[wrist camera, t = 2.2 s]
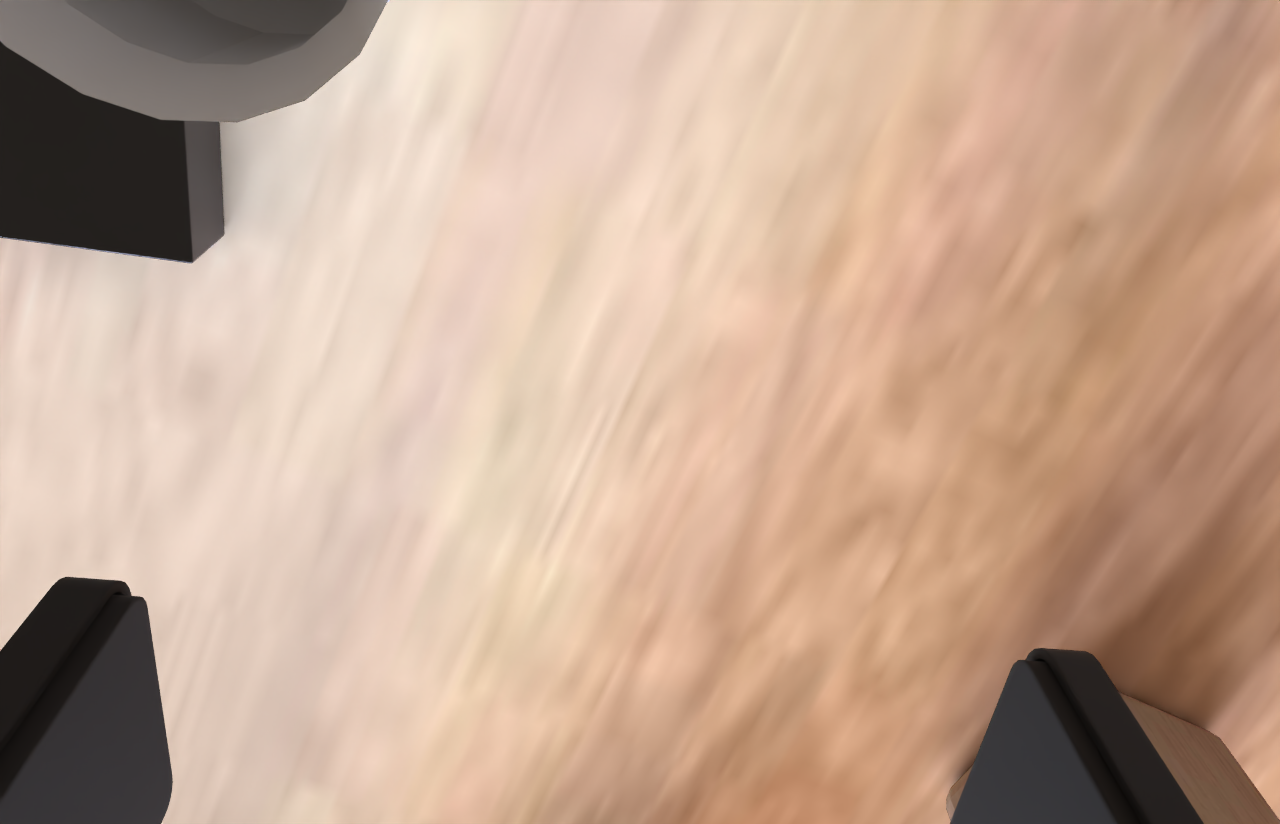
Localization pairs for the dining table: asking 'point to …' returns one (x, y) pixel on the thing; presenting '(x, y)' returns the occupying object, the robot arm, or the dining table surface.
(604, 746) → the dining table surface
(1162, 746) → the block
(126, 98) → the chalice
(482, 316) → the dining table surface
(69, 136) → the black knob base
